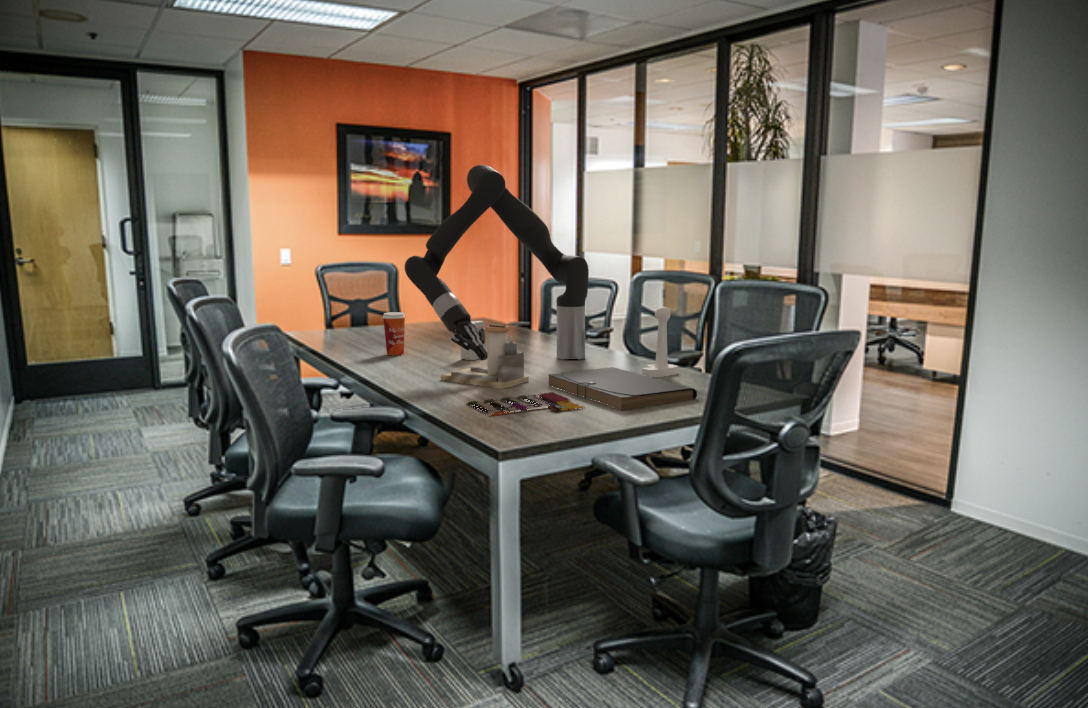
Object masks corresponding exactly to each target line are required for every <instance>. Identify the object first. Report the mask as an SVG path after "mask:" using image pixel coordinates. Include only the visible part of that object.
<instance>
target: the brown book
mask: <svg viewBox="0 0 1088 708" xmlns="http://www.w3.org/2000/svg"><path fill="white" fill-rule="evenodd" d="M547 375H548V385H550V386H549V387H551V386H553V387H552V388H554V387H555V388H554V389H556V388H559V389H562V390H565V391H567V392H566V393H568V392H570V393H569V394H571V393H574V394H577V395H576V397H579V396H578V395H581V396H584V397H585V398H586V399H587V398H589V399H592V400H591V401H593V400H596V401H600V402H602V403H605V404H608V405H610V406H609V407H611V406H612V407H611V408H613V407H614V408H613V409H615V408H617V409H616V410H618V409H620V410H619V411H620V412H623V411H628V410H634V409H635V410H636V409H642V408H647V407H648V408H649V407H656V406H660V405H665V404H671V403H677V402H683V401H689V400H690V401H691V400H696V399H697V397H698V391H697V389H695V388H694V387H693V388H692V387H689V386H684V385H682V384H677V383H673V382H669V381H667V380H662V379H659V378H657V377H654V378H652V377H648V376H646V375H642V373H641V374H640V373H637V372H633V371H629V370H625V369H622V368H618V367H602V368H601V367H600V368H592V369H591V368H590V369H583V370H571V371H565V372H564V371H561V372H558V373H550V374H549V373H548V374H547ZM559 389H558V390H559ZM562 390H561V391H562ZM565 391H564V392H565ZM574 394H573V395H574ZM581 396H580V397H581ZM584 397H583V398H584ZM585 398H584V399H585ZM589 399H588V400H589ZM596 401H595V402H596ZM600 402H599V403H600ZM602 403H601V404H602ZM605 404H604V405H605ZM608 405H607V406H608ZM622 410H623V411H622Z"/></svg>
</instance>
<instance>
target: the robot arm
mask: <svg viewBox="0 0 1088 708" xmlns="http://www.w3.org/2000/svg"><path fill="white" fill-rule="evenodd" d="M466 182H467V187H468V189H469V191H470V192H471V194H470V195H469V197H467V199H466V201H465V202H464V204H462V205H461V206H460V207H459V208H458V209H457V210H456V211H455V212H453V213H452V214H451V215H449V216H448V217H446V219H444V220H443V221H442V222H440V223H439V225H438V226H437V228H436V229H435V230H434V231H433V233H432V234H431V235H430V237H429V238H428V239H427V241H426V243H425V248H426V249H427V251H425V252H426V253H425V254H424V255H423V257H422V256H421V255H413V256H410V257H408V258H407V259H406V261H405V263H404V272H405V274H406V277H407V278H408V280H410V282H411V283H412V284H413V285H414V286H415V287H416V288H417V289H418V290H419V291H420V292H421V293H422V294H423V296H424V297H425V298H426V300H427V301H428V303H429V304H430V305H431V307H432V308H433V310H434V313H435V314H436V315H437V317H438V319H440V321H441V322H442V324H443V325H444V327H446V329H447V330H448V331H449V332H450V333H452V334H453V335H452V337H451V338H450V340H451V341H452V342H453V343H454V344H456V345H458V346H459V347H460V348H461V347H463V348H464V349H466V350H469V349H470V350H472V351H474V352H475V353H476V355H477V356H478V357H479V360H480V361H486V360H488V358H487V349H486V350H485V349H484V347H483V344H484V343H485V344H486V331H484V329H483V328H481V329H480V330H479V329H477V328H476V326H475V325H474V324H472V323H471V322H472V321H471V320H472V319H471V314H470V313H469V312H468V311H467V309H466V307H465V306H464V305H463V304H462V302H461V301H460V300H459V298H458V297H457V296H456V295H455V294H454V293H453V292H452V290H451V289H450V288H449V286H448V285H447V283H446V282H445V281H443V280H442V279H441V278H440V277H438V276H437V275H438V274H439V273H440V271H441V269H442V267H443V265H444V263H445V261H446V260H445V259H446V257H447V256H448V254H449V253H451V252H452V249H454V247H455V245H456V244H457V243H458V242H459V241H460V240H461V238H462V237H463V236H464V234H465V233H466V232H467V231H468V230H469V228H471V227H472V226H473V224H474V223H475V222H476V221H477V220H479V218H480V217H482V216H483V215H484V213H485V212H487V210H488V209H489V208H491V209H492V210H493V211H494V213H495V214H497V216H498V218H499V219H500V220H501V221H502V223H503V224H504V225H505V227H507V229H508V230H509V231H510V232H511V233H512V234H513V235H514V237H516V238H517V239H518V241H519V242H520V243H522V245H524V246H525V248H527V249H528V250H529V252H530V253H531V254H532V255H534V256H535V258H537V260H539V261H540V263H541V264H542V265H543V266H544V268H545V269H546V270H547V272H548V273H549V275H550V276H551V277H552V278H553V279H554V280H555V281H556V282H558V283H559V284H563V285H565V291H564V293H562V294H561V295H559V296H557V297H556V358H557V359H558V358H559V359H558V360H564V359H578V360H586V300H587V298H588V294H589V293H588V292H589V291H588V290H589V289H588V288H589V271H590V269H589V264H588V262H587V260H586V258H584V257H582V256H580V255H579V256H578V255H566V254H564V253H563V252H562V251H560V250H559V248H558V247H556V245H555V244H554V243H553V242H552V239H551V234H550V230H549V227H548V226H547V224H546V223H545V222H544V221H543V219H541V218H540V216H539V215H538V214H537V213H535V211H534V210H532V208H530V207H529V205H527V204H526V203H524V202H523V201H521V199H519V198H518V197H517V196H515V194H513V193H512V192H510V191H509V188H507V187H506V179H505V177H504V176H503V174H501V173H500V172H499V171H497V170H496V169H494V168H493V167H491V166H490V165H486V164H477V165H474V166H473V167H472V168H470V169H469V170H468V173H467V176H466Z"/></svg>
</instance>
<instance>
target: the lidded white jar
mask: <svg viewBox="0 0 1088 708" xmlns="http://www.w3.org/2000/svg"><path fill="white" fill-rule="evenodd" d="M509 331H510V326H509V325H501V324H493V323H491V324H490V323H489V324H488V325H485V332H486V337H487V338H486V340H487V341H486V346H487V347H486V351H487V368H488V376H493V377H498V356H502V355H505V343H509V342H508V341H509V340H508V339H509V338H508V336H509V334H508V332H509Z"/></svg>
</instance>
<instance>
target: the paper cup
mask: <svg viewBox="0 0 1088 708" xmlns="http://www.w3.org/2000/svg"><path fill="white" fill-rule="evenodd" d="M405 318H406V315H405V313H404V312H401V311H400V312H399V311H398V312H397V311H396V312H395V311H392V312H389V311H388V312H384V313H383V316H382V319H383V326H384V328H383V329H384V339H385V349H386V355H387V354H388V355H387V356H389V355H400V356H402V355H401V354H403V355H404V354H405V332H406V331H405V327H406V324H405V322H406V320H405Z"/></svg>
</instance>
